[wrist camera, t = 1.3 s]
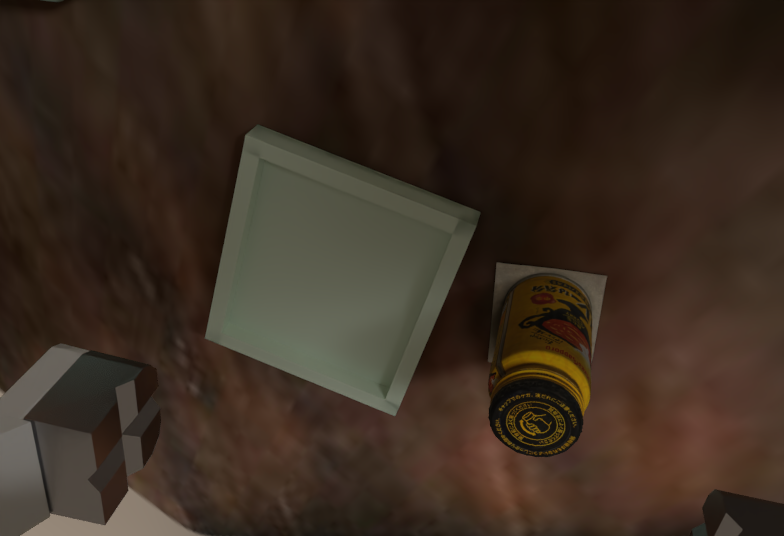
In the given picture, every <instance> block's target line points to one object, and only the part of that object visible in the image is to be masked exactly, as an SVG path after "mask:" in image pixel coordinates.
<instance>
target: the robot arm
mask: <svg viewBox="0 0 784 536" xmlns="http://www.w3.org/2000/svg"><path fill="white" fill-rule="evenodd" d="M158 386H159V385H158V377H157V370H156V368H154V367H153V366H151V365H149V364H145V363H141V362H137V361H133V360H129V359H125V358H121V357H117V356H112V355H108V354H104V353H100V352H96V351H92V350H91V351H89V350H85V349H81V348H77V347H73V346H69V345H65V344H59V345H56V346H53V347H51V348H50V349H49V350H48V351H47V352H46V353H45V354H44V355H43V356H42V357H41V358H40V359H39V360H38V361H37V362H36V363H35V364H34V365H33V366H32V367H31V368H30V369H29V370H28V371H27V372H26V373H25V374H24V375H23V376H22V377H21V378H20V379H19V380H18V381H17V382H16V383H15V384H14V385H13V386H12V387H11V388H10V389H9V390H8V391H7V392H6V393H5V394H4V395H3V396H2V397H1V398H0V536H20V535H22V534H23V533H25V532H26V531H28V530H30V529H31V528H33V527H34V526H36V525H37V524H39V523H40V522H42V521H44V520H45V519H47V518H49V517H50V513H51V514H56V515H61V516H65V517H70V518H74V519H79V520H83V521H88V522H92V523H97V524H102V525H106V523H107V522H108V520H109V519H110V517H111V516H112V514H113V513H114V511H115V510H116V508H117V507H118V505H119V504H120V502H121V501H122V499H123V498H124V496H125V495H126V493H127V492H128V482H127V476H129V475H131V474H133V473H135V472H137V471H139V470H141V469H143V468H144V466H145V465H146V463H147V461H148V460H149V458H150V457H151V455H152V454H153V451H154V448H155V445H156V443H157V440H158V437H159V434H160V426H161V409H160V407H159V406H158V404H157V403H156V402H155V401H154V399H153V398H152V397H151V396H152V394H153V393H154V392H155V390H156V389H157V387H158ZM702 510H703V515H704V520H705V523H704V524H702V525H700V526H698V527H696V528H694V529H692V530H691V533H690V535H689V536H784V504H782V503H777V502H772V501H768V500H763V499H758V498H754V497H749V496H744V495H739V494H735V493H730V492H725V491H721V490H716V489H715V490H714V491H712V492H711V493H710V494H709V495H708V497H707V499H706V501H705V503H704V505H703V507H702Z"/></svg>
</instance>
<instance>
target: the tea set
mask: <svg viewBox="0 0 784 536" xmlns="http://www.w3.org/2000/svg"><path fill="white" fill-rule="evenodd" d="M42 1H51V2H60V1H63V0H42Z"/></svg>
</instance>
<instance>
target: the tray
mask: <svg viewBox="0 0 784 536" xmlns="http://www.w3.org/2000/svg"><path fill="white" fill-rule="evenodd" d="M480 214H481V212H479V211H477V210H474V209H472V208H469V207H467V206H464V205H461V204H459V203H456V202H454V201H451V200H449V199H446V198H444V197H441V196H439V195H436V194H433V193H431V192H428V191H426V190H423V189H421V188H418V187H416V186H413V185H411V184H408V183H406V182H403V181H400V180H398V179H395V178H393V177H390V176H388V175H385V174H383V173H380V172H378V171H375V170H372V169H370V168H367V167H365V166H362V165H360V164H357V163H355V162H352V161H350V160H347V159H345V158H342V157H339V156H337V155H334V154H332V153H329V152H327V151H324V150H322V149H319V148H317V147H314V146H312V145H309V144H306V143H304V142H301V141H299V140H296V139H294V138H291V137H289V136H286V135H284V134H281V133H278V132H276V131H273V130H271V129H268V128H266V127H263V126H261V125H256V126H255V127H254V128H253V129H252V130H251V131H250V132H248V133H247V134H246V136H245V141H244V146H243V151H242V156H241V161H240V166H239V171H238V176H237V181H236V186H235V191H234V196H233V201H232V206H231V211H230V215H229V220H228V225H227V230H226V235H225V240H224V245H223V250H222V255H221V260H220V265H219V270H218V275H217V280H216V285H215V290H214V295H213V300H212V305H211V310H210V315H209V320H208V325H207V330H206V335H205V339H208V340H210V341H213V342H215V343H217V344H220V345H222V346H225V347H227V348H230V349H232V350H235V351H237V352H239V353H242V354H244V355H247V356H249V357H252V358H254V359H257V360H259V361H261V362H264V363H266V364H269V365H271V366H274V367H276V368H278V369H281V370H283V371H286V372H288V373H291V374H293V375H296V376H298V377H300V378H303V379H305V380H308V381H310V382H313V383H315V384H318V385H320V386H322V387H325V388H327V389H330V390H332V391H335V392H337V393H340V394H342V395H344V396H347V397H349V398H352V399H354V400H357V401H359V402H361V403H364V404H366V405H369V406H371V407H374V408H376V409H379V410H381V411H383V412H386V413H388V414H391V415H393V416H396V413H397V411H398V409H399V406H400V404H401V402H402V399H403V397H404V395H405V392H406V390H407V388H408V385H409V383H410V381H411V378H412V376H413V374H414V371H415V369H416V367H417V364H418V362H419V359H420V357H421V355H422V352H423V350H424V348H425V345H426V343H427V341H428V338H429V336H430V334H431V331H432V329H433V327H434V324H435V322H436V320H437V317H438V315H439V313H440V310H441V308H442V306H443V303H444V301H445V299H446V296H447V294H448V292H449V289H450V287H451V285H452V282H453V280H454V278H455V275H456V273H457V271H458V268H459V266H460V264H461V261H462V259H463V256H464V254H465V252H466V249H467V247H468V245H469V242H470V240H471V238H472V235H473V233H474V231H475V228H476V226H477V223H478V220H479V217H480Z"/></svg>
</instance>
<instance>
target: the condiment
mask: <svg viewBox="0 0 784 536" xmlns="http://www.w3.org/2000/svg"><path fill="white" fill-rule="evenodd" d="M606 279H607V276H604V275H597V274H589V273H582V272H577V271H569V270H561V269H554V268H544V267H536V266H525V265H514V264H505V263H499V262H497V263H496V275H495V287H494V298H493V310H492V320H491V332H490V343H489V353H488V362H492V365H491V369H490V374H489V382H488V386H489V387H488V391H489V395H490V398H491V405H490V408H489V417H488V418H489V420H490V426H491V428H492V431H493V433H494V434H495V436H496V437H497V438H498V439H499V440H500V441H501V442H502V443H504V444H505V445H506V446H508V447H509V448H511V449H512V450H514V451H516V452H517V453H521V454H524V455H529V456H534V457H550V456H553V455H557V454H560V453H563V452H565V451H567V450H568V449H569V448H570V447H571V446H572V445H573V444H574V443H575V442H577V440H578V438H579V436H580V433H581V432H582V425H583V415H584V411H585V409H586V408H587V406H588V404H589V401H590V395H591V364H592V358H593V353H594V347H595V342H596V336H597V330H598V324H599V318H600V313H601V307H602V301H603V296H604V290H605V284H606Z"/></svg>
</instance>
